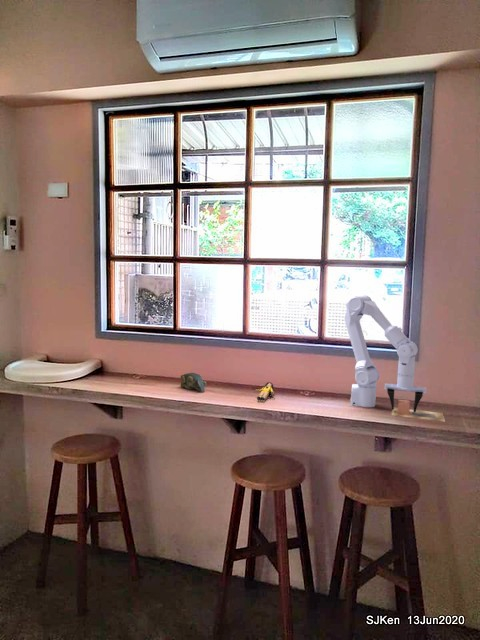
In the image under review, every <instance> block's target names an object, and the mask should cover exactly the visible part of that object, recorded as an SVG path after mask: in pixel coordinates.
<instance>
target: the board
mask: <svg viewBox="0 0 480 640" xmlns="http://www.w3.org/2000/svg"><path fill="white" fill-rule="evenodd" d="M391 416H395V417H403V418H412V419H419V420H429V421H437V422H444V423H445V422H446V420H445V416H444V413H443V412H436V411H435V412H434V411H428V410H420V409H419V410H418V409H416V412H414V409H410V410H409V415H402V414H398V407H394V410H392V409H391Z"/></svg>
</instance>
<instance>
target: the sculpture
mask: <svg viewBox="0 0 480 640" xmlns="http://www.w3.org/2000/svg"><path fill="white" fill-rule="evenodd" d="M180 379H181V383H180V387H181V388H182V389H184V388H185V389H186V390H192V389H195V390H197V391H199V393H204V392H205V387H207V382H206V381H205V380H204V379H203V376H202V375H201V374H199V373H198V374H197V373H196V372H189V373H184V374H181V375H180Z"/></svg>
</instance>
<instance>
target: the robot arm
mask: <svg viewBox="0 0 480 640" xmlns="http://www.w3.org/2000/svg"><path fill="white" fill-rule="evenodd" d="M345 306H346V310H345V315H344V323H345V326H346V329H347V334H348V337H349V340H350V344H351V347H352V351H353V354H354V355H353V356H354V358H355V361H356V364H355V366H354V371H355V375H354V379H355V382H356V383H352V384H351V389H350V390H351V394H350V406H357V407H363V408H374V407H375V406H376V398H377V382H378V381H379V379H380V372H379V370H378V369H377V368H376V366H375V363H374V362H373V361H372V360H371V357H370V354H369V350H368V347H367V343H366V339H365V336H364V331H363V329H362V325H361V319H362V318H363V316H364V315H367V316H370V317H371V318H372V319H373V320H374V322H376V323H377V324H378V325H379V326H380V327H381V328H382V330H383V331H384V337H385V338H386V339H387V340H388V342H389V343H390V344H391V345H392V346H393V347H394V348H395V349H396V354H397V356H398V367H397V382H396V383H384V390H385V391H386V393H387V395H388V397H389V401H390V405H391V411H392V410H394V408H395V391H397V392H407V393H408V392H409V393H414V403H413V410H414V412H416V410H417V408H418V405H419V403H420V401H421V399H422V398H423V395H424V394H425V395H426V394H427V387H425V386H417V385H414V382H415V370H416V369H415V368H416V355H417V354H418V351H419V349H418V346H417V344H416V342H414V341H412V340H411V339H410V338H409V337H407V336H406V335H405V333H404V332H403V331H402V330H403V329H402V328H401V327H398V326H397V325H392V323H391V322H390V321H389V320H388V318H387V317H386V316H385V314H384V313H383V312H382V311H381V309H380V308H379V306H378V305H377V304H376V302H375V301H374V300H372V298H371V297H370V296H368V295H353V296H351V297H350V298H349V299H348V301H347V302H346V304H345Z"/></svg>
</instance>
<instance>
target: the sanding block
mask: <svg viewBox="0 0 480 640" xmlns="http://www.w3.org/2000/svg"><path fill="white" fill-rule="evenodd" d="M410 403H411V401H410V400H408V399H407V400H406V399H398V402H397V408H398V414H402V415H409V410H410V407H411V404H410Z"/></svg>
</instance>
